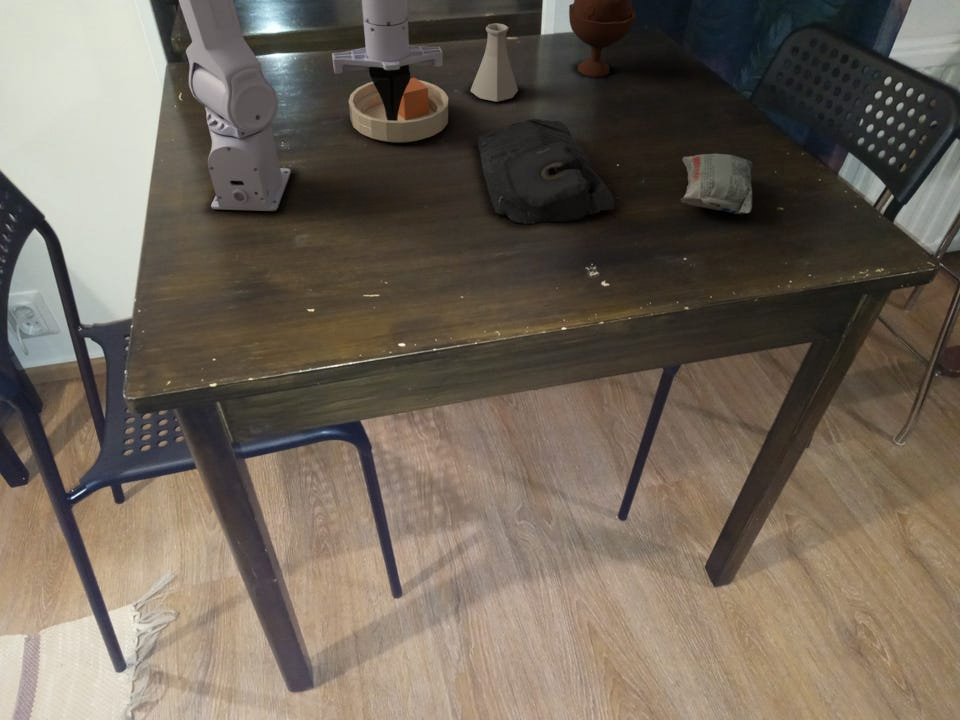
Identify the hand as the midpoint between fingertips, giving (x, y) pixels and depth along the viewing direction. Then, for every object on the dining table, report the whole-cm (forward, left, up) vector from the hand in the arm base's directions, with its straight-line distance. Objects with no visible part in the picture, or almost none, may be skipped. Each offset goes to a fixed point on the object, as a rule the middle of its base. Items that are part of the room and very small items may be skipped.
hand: (391, 118), depth 99 cm
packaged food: (-15, -43, -2) cm, 45 cm away
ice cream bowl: (+24, -32, -2) cm, 40 cm away
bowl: (+3, -1, -2) cm, 4 cm away
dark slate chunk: (-11, -21, -2) cm, 24 cm away
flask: (+14, -15, -2) cm, 21 cm away
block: (+6, -2, -2) cm, 6 cm away
